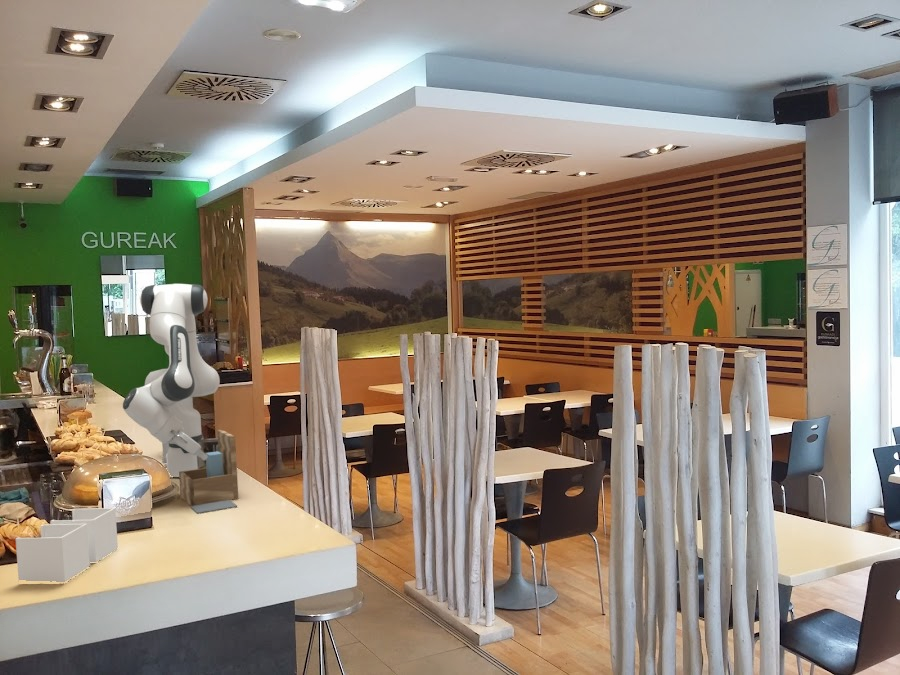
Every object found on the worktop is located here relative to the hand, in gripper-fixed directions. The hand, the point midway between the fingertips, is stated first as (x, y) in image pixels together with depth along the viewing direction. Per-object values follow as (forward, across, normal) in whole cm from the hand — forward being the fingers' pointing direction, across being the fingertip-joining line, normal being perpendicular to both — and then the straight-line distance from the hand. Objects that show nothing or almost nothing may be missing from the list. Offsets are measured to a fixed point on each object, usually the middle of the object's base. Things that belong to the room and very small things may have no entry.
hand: (202, 456), depth 258 cm
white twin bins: (-20, -47, +40) cm, 65 cm away
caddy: (+10, 0, +9) cm, 14 cm away
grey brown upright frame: (+14, +14, +5) cm, 21 cm away
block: (+9, 0, +4) cm, 10 cm away
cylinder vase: (+15, +75, +4) cm, 77 cm away
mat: (+9, -13, +10) cm, 19 cm away
